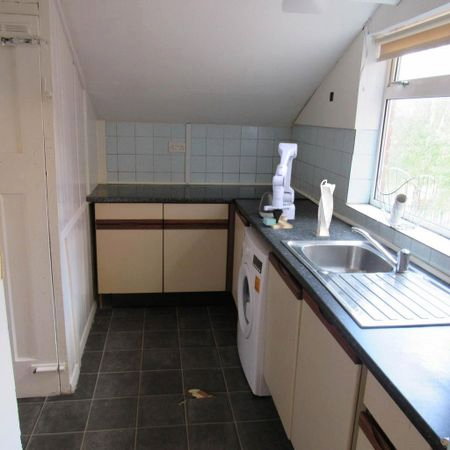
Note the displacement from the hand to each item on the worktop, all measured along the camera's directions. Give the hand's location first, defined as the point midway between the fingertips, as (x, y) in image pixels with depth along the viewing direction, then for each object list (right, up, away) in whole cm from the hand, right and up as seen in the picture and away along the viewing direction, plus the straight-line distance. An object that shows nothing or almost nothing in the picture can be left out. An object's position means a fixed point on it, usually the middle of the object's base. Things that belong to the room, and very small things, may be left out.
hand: (276, 223), depth 234 cm
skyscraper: (+22, -7, -13) cm, 26 cm away
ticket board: (+2, -1, +4) cm, 5 cm away
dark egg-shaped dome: (-2, +3, +23) cm, 23 cm away
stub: (-4, 0, 0) cm, 4 cm away
